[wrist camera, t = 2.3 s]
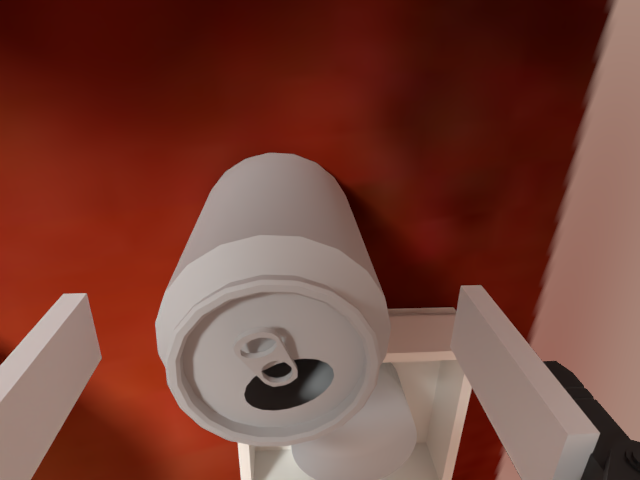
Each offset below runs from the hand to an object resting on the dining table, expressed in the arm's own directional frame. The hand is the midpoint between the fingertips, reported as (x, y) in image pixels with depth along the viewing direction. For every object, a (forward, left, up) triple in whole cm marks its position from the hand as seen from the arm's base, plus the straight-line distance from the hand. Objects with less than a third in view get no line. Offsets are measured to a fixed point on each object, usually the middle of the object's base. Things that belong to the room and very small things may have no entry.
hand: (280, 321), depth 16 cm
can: (0, 0, -9) cm, 9 cm away
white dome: (+11, +4, -8) cm, 14 cm away
